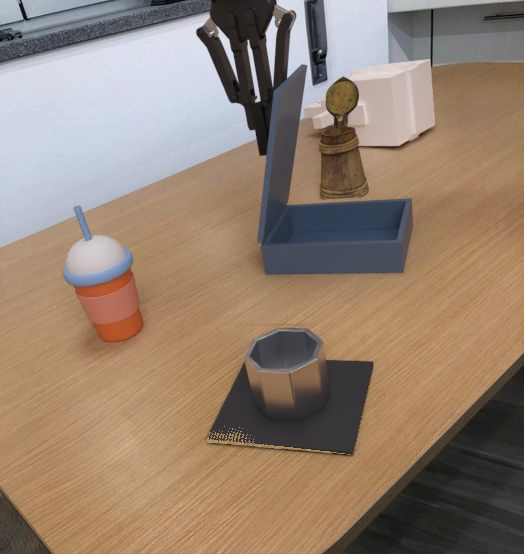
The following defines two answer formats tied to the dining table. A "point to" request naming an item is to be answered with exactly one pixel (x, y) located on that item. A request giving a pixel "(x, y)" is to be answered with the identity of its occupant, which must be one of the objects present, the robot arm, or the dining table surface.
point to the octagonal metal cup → (288, 373)
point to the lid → (281, 149)
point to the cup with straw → (104, 283)
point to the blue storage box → (340, 238)
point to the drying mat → (309, 432)
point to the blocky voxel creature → (386, 104)
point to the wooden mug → (341, 146)
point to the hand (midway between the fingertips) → (267, 152)
